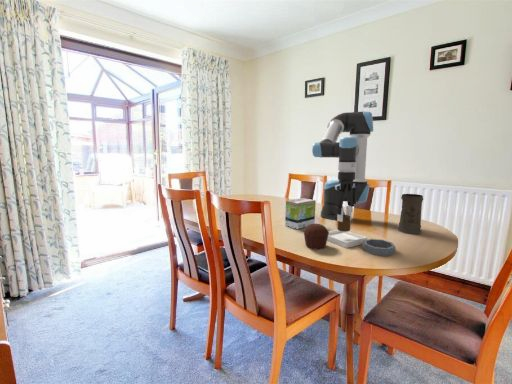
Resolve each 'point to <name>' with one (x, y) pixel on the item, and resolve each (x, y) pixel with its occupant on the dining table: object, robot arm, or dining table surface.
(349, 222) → the utensil holder
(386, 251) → the grey octagonal ring
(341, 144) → the robot arm
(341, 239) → the tray
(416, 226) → the beer stein
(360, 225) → the dining table surface
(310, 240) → the muffin
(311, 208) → the tea box
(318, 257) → the dining table surface
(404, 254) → the dining table surface
